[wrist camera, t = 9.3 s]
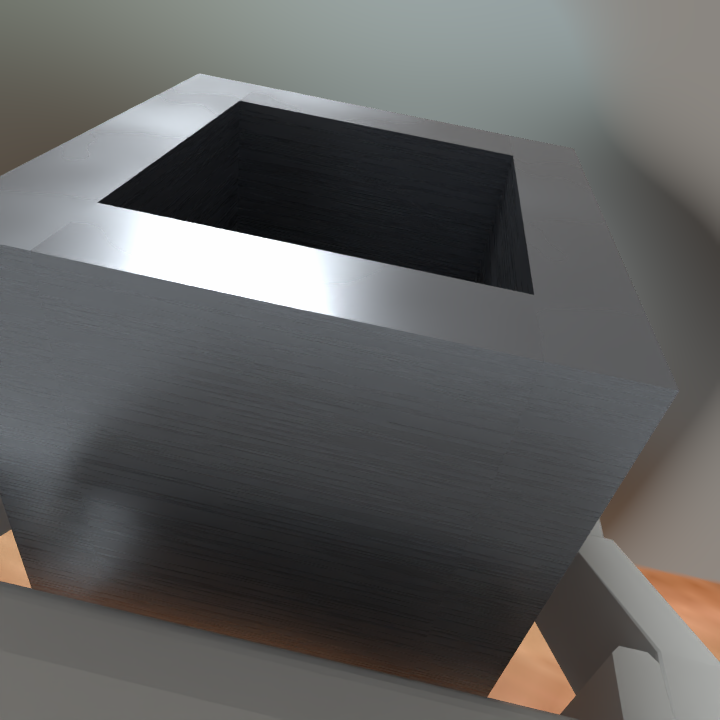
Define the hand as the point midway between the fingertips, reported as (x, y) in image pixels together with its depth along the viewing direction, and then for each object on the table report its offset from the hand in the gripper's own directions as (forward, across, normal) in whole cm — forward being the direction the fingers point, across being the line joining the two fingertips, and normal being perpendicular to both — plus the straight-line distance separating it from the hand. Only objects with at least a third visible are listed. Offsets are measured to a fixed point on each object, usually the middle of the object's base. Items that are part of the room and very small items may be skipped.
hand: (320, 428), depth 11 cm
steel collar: (-1, 0, +6) cm, 6 cm away
